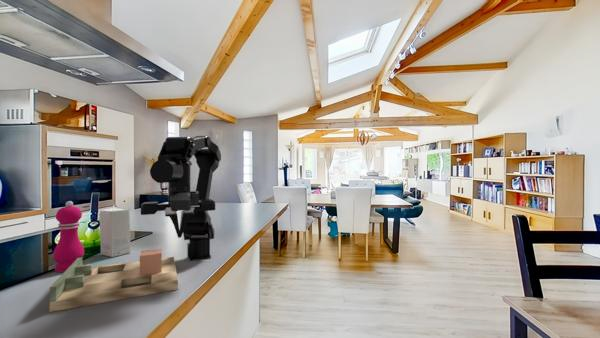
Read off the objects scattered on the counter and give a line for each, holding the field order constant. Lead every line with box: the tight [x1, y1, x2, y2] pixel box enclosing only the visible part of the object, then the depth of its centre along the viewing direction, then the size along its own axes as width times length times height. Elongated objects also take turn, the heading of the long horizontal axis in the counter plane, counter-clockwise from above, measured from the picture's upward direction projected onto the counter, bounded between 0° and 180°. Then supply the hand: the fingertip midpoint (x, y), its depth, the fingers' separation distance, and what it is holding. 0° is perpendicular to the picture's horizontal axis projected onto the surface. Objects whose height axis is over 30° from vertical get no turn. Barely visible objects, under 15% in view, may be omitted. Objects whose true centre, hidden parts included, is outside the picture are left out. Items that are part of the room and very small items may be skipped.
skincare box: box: [99, 207, 131, 258], centre depth 98 cm, size 8×7×16 cm
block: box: [139, 248, 163, 275], centre depth 75 cm, size 5×5×5 cm
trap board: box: [49, 256, 179, 313], centre depth 72 cm, size 24×22×5 cm
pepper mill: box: [52, 200, 85, 273], centre depth 83 cm, size 7×7×20 cm
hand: (179, 237), depth 78 cm, fingers closed
